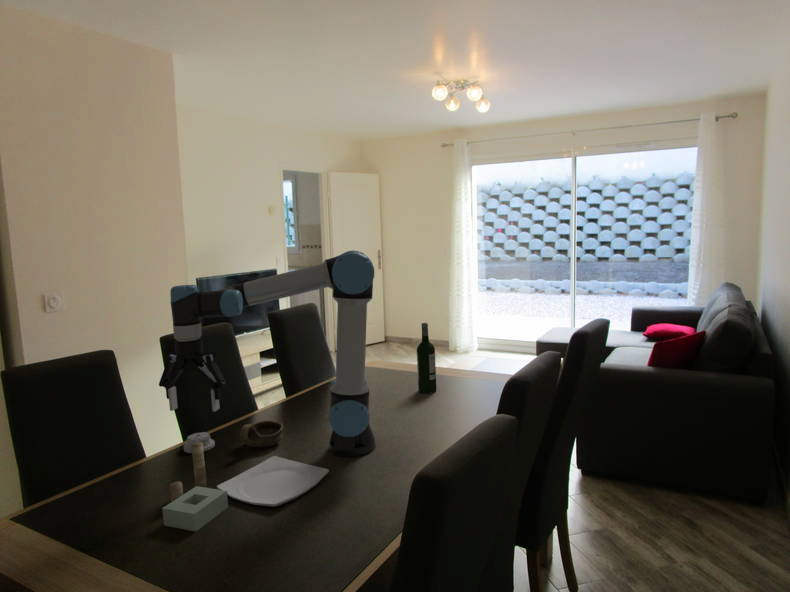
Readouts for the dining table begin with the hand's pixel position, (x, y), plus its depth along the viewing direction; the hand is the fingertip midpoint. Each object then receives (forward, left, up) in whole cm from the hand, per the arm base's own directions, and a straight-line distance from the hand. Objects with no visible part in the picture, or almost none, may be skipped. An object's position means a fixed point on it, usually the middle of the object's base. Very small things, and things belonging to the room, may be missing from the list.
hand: (194, 409), depth 156 cm
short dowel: (-6, +16, -21) cm, 27 cm away
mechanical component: (+17, -18, -21) cm, 33 cm away
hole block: (-15, +19, -21) cm, 32 cm away
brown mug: (-4, -24, -21) cm, 32 cm away
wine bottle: (-40, -96, -21) cm, 106 cm away
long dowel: (-5, +6, -21) cm, 22 cm away
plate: (-25, -1, -21) cm, 33 cm away
